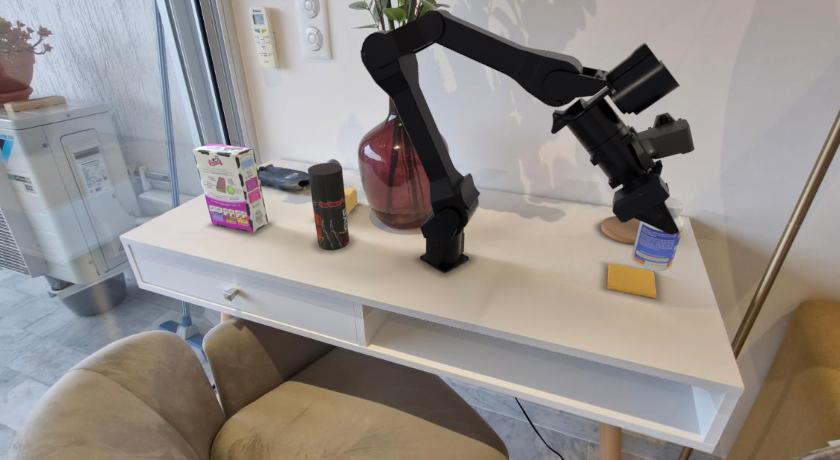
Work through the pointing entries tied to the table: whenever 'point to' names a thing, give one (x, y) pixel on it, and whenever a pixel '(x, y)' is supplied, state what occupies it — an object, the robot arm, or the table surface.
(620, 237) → the cork trivet
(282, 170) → the electronic device
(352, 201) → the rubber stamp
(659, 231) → the pill bottle
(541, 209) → the table surface
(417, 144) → the robot arm
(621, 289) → the mustard cloth
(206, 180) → the candy bar box
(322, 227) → the deodorant
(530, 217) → the table surface
